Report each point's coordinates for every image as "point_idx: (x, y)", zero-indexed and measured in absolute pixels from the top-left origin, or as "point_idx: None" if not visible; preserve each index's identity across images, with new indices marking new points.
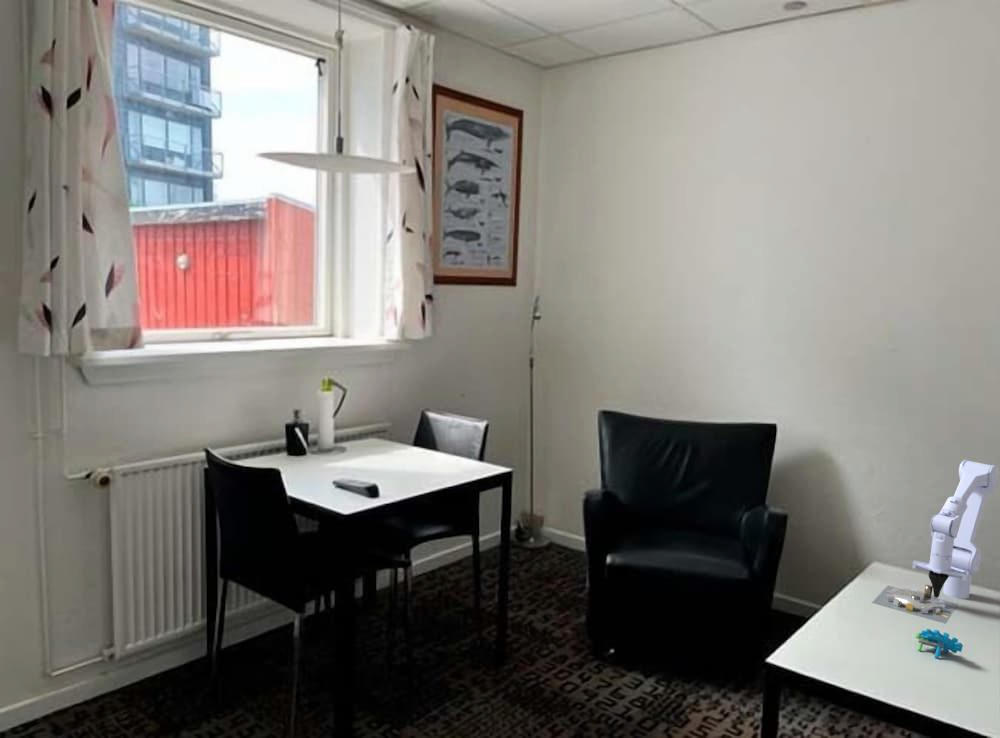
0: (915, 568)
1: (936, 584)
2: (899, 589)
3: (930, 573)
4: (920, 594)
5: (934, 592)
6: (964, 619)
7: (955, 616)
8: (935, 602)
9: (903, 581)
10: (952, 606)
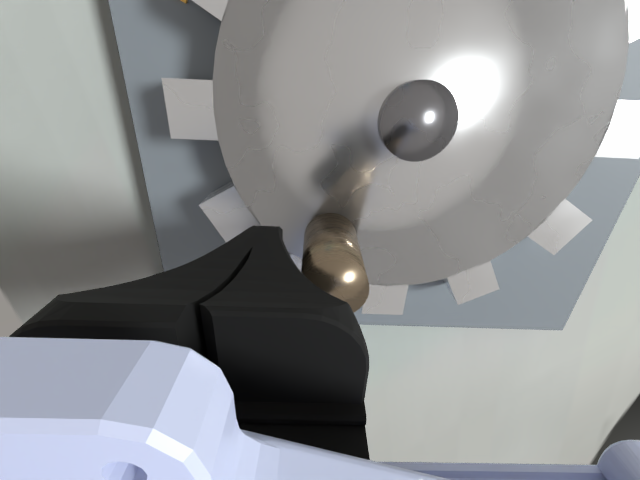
0: (627, 443)
1: (241, 270)
2: (498, 312)
3: (342, 410)
4: (382, 249)
5: (273, 235)
6: (63, 118)
7: (127, 132)
8: (253, 147)
9: (458, 441)
10: (180, 256)
